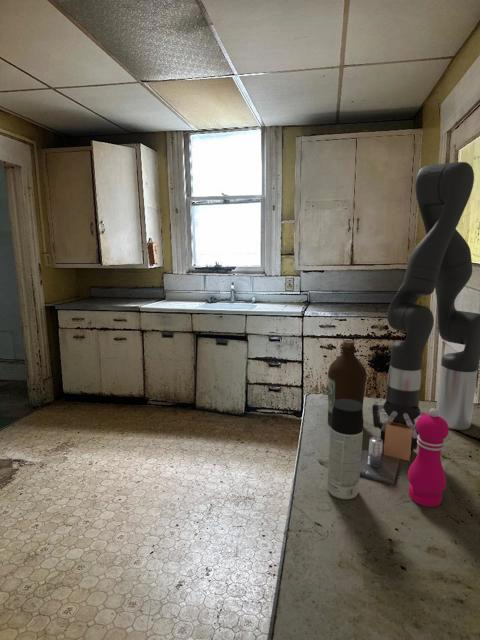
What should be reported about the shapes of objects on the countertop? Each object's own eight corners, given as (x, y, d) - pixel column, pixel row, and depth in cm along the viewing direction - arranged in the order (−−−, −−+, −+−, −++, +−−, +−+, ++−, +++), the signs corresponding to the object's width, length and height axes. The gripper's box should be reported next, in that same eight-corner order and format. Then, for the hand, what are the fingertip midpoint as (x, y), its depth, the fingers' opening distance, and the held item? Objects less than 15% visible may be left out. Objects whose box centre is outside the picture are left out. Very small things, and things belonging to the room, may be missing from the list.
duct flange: (357, 452, 101) (359, 426, 99) (399, 462, 96) (401, 436, 95) (347, 472, 92) (349, 444, 91) (393, 484, 88) (395, 455, 86)
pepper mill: (427, 513, 79) (438, 419, 74) (398, 492, 85) (406, 405, 81) (451, 502, 82) (462, 412, 78) (421, 483, 88) (430, 399, 84)
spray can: (359, 484, 88) (365, 400, 83) (357, 504, 81) (364, 413, 77) (328, 479, 90) (332, 395, 86) (324, 497, 83) (329, 408, 79)
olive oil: (358, 416, 121) (363, 337, 116) (366, 433, 111) (373, 346, 105) (323, 415, 122) (326, 336, 117) (328, 432, 111) (332, 346, 106)
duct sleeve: (387, 443, 105) (389, 415, 103) (411, 449, 102) (414, 420, 101) (383, 454, 100) (385, 425, 98) (409, 460, 97) (412, 430, 95)
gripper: (437, 384, 97) (430, 446, 101) (376, 374, 104) (371, 433, 107) (435, 394, 91) (428, 461, 94) (370, 383, 97) (366, 446, 101)
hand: (398, 446), depth 101 cm, fingers closed on duct sleeve, 6 cm apart
